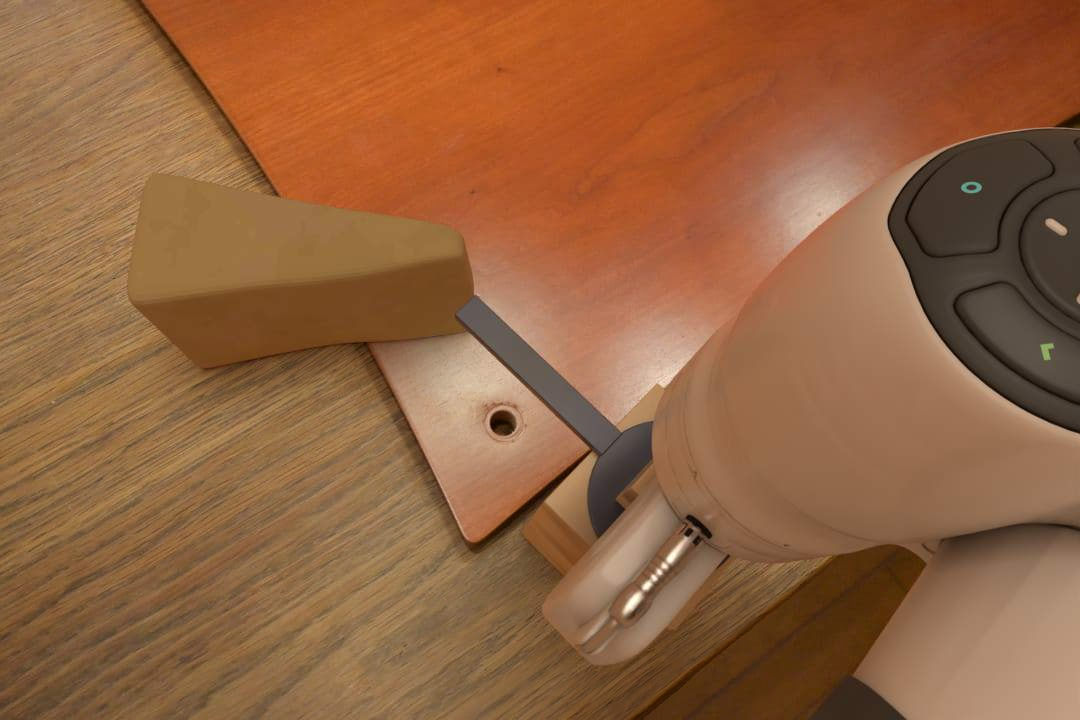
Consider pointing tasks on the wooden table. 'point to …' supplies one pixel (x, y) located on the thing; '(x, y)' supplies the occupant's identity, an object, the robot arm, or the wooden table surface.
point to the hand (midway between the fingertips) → (677, 493)
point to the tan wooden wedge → (287, 272)
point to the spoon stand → (597, 481)
